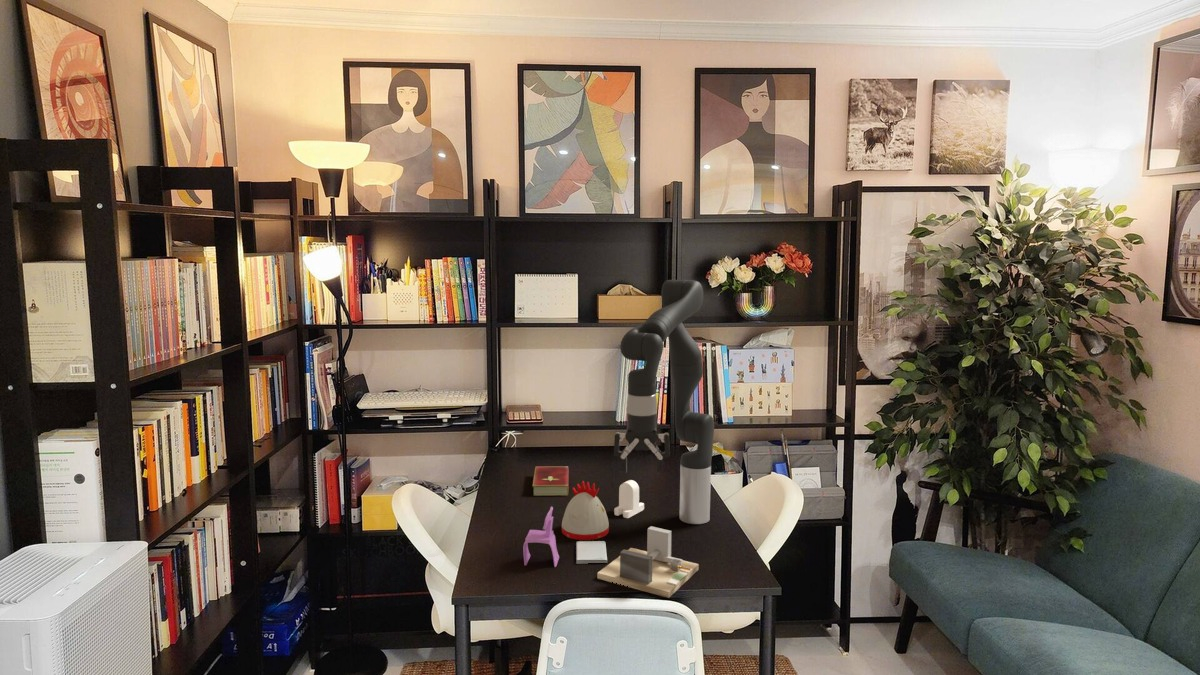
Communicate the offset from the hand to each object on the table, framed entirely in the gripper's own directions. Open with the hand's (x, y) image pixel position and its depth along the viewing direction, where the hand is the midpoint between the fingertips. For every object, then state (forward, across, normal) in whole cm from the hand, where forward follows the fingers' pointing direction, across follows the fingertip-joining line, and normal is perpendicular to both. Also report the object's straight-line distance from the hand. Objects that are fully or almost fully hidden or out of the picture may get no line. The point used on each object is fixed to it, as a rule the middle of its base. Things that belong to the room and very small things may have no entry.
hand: (641, 472), depth 193 cm
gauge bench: (+26, -2, +3) cm, 26 cm away
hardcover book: (+28, +34, -62) cm, 76 cm away
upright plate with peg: (+24, -5, +1) cm, 25 cm away
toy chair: (+26, +27, -1) cm, 38 cm away
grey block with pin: (+24, -10, +4) cm, 27 cm away
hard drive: (+27, +14, -8) cm, 31 cm away
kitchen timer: (+27, +18, -24) cm, 40 cm away
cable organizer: (+27, +6, -40) cm, 49 cm away
